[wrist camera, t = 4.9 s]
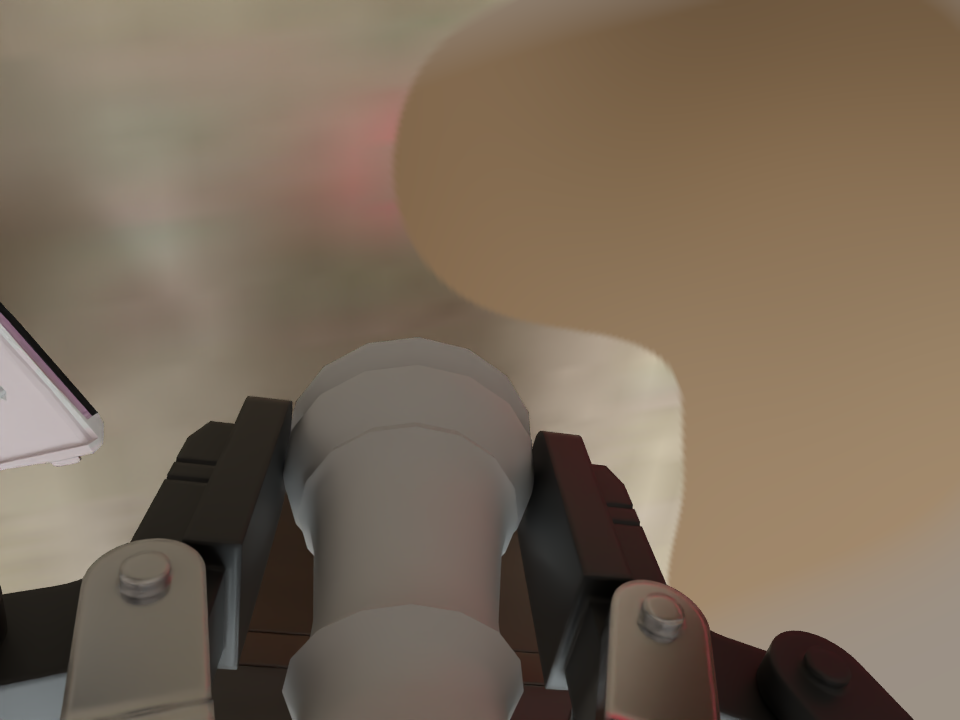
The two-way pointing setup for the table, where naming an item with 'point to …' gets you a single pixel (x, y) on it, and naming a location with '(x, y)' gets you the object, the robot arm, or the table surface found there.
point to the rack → (288, 622)
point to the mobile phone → (40, 405)
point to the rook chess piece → (407, 533)
